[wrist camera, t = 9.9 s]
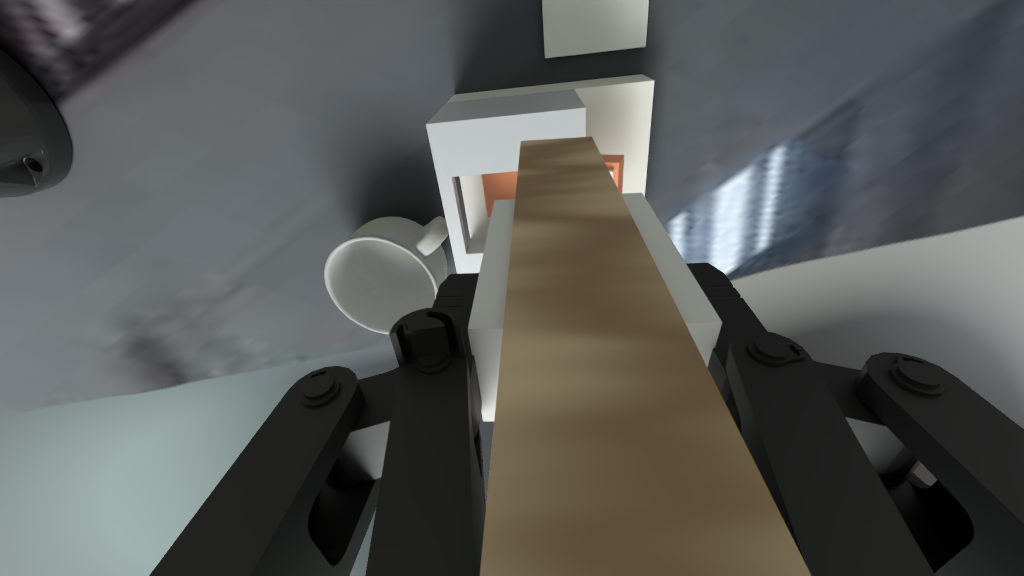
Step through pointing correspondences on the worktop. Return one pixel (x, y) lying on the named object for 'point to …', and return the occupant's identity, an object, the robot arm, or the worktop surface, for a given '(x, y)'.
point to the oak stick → (610, 404)
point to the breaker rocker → (505, 182)
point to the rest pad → (593, 26)
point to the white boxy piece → (531, 116)
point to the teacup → (387, 270)
